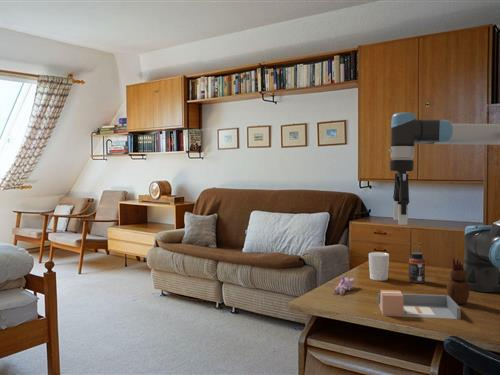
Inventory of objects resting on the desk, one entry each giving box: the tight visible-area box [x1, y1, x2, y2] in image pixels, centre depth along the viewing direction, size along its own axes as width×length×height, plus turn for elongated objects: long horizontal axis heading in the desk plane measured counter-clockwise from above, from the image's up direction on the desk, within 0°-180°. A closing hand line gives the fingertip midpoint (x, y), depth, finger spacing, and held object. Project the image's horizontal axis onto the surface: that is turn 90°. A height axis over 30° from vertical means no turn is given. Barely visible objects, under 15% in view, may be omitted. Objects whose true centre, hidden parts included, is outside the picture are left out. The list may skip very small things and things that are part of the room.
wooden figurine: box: [446, 257, 471, 305], centre depth 147 cm, size 7×6×15 cm
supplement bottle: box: [408, 251, 426, 284], centre depth 174 cm, size 6×6×11 cm
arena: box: [377, 292, 462, 320], centre depth 139 cm, size 22×13×4 cm, turn 80°
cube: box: [379, 289, 404, 317], centre depth 138 cm, size 6×6×6 cm
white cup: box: [368, 251, 390, 282], centre depth 179 cm, size 8×8×10 cm
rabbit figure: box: [332, 276, 355, 296], centre depth 163 cm, size 6×6×15 cm
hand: (400, 222), depth 151 cm, fingers open, 13 cm apart
